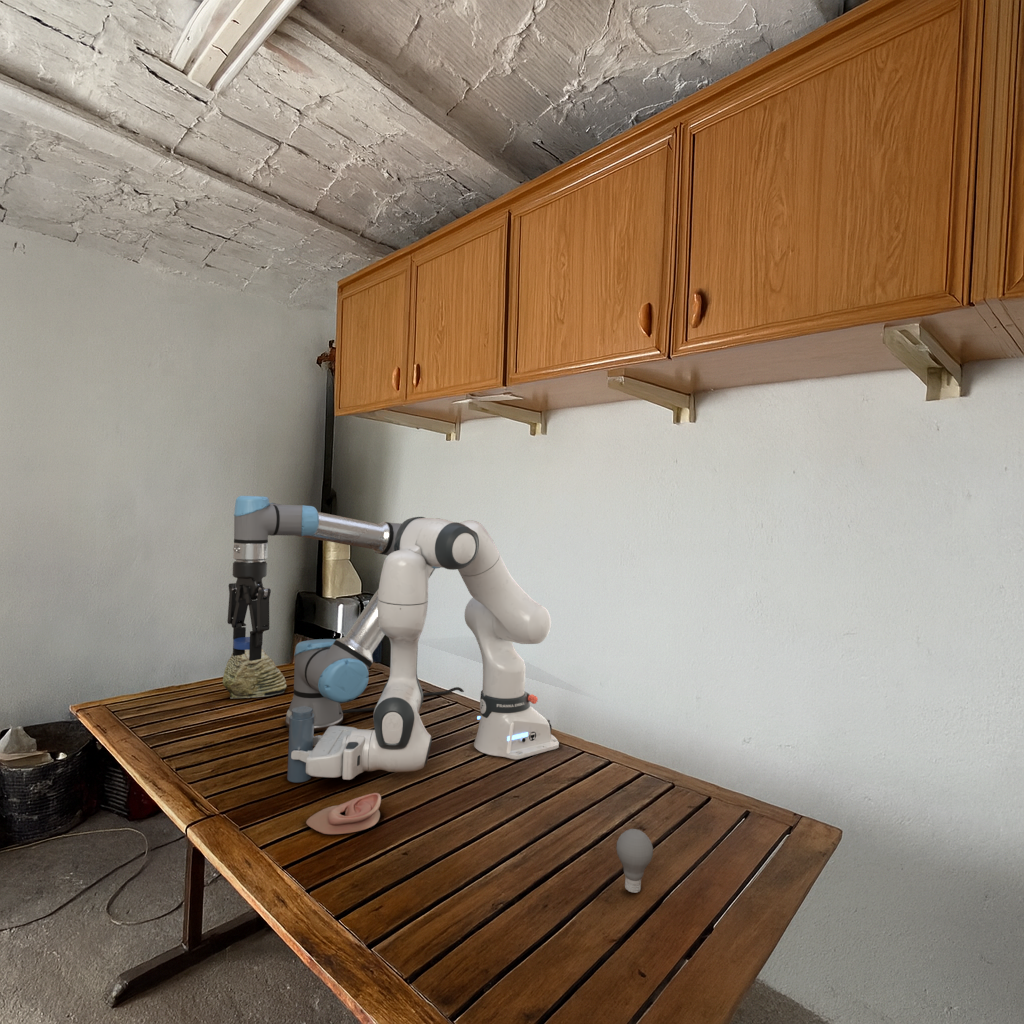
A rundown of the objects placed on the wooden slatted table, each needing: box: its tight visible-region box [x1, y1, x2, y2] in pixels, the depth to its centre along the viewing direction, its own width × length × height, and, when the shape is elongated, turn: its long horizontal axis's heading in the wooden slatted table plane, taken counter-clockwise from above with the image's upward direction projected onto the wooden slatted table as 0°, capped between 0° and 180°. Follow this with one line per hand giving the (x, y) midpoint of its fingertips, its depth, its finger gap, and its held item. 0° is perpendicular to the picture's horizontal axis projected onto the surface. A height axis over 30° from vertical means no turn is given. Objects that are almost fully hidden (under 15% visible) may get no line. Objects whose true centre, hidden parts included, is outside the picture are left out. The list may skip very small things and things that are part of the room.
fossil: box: [222, 648, 288, 699], centre depth 198 cm, size 9×18×15 cm, turn 132°
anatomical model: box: [305, 792, 382, 835], centre depth 124 cm, size 13×4×12 cm
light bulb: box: [615, 828, 654, 894], centre depth 106 cm, size 6×6×10 cm
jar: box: [286, 706, 315, 784], centre depth 142 cm, size 5×5×15 cm
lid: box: [232, 636, 250, 650], centre depth 151 cm, size 6×6×2 cm
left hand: (246, 657), depth 151 cm, fingers closed on lid, 6 cm apart
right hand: (296, 748), depth 142 cm, fingers closed on jar, 5 cm apart
